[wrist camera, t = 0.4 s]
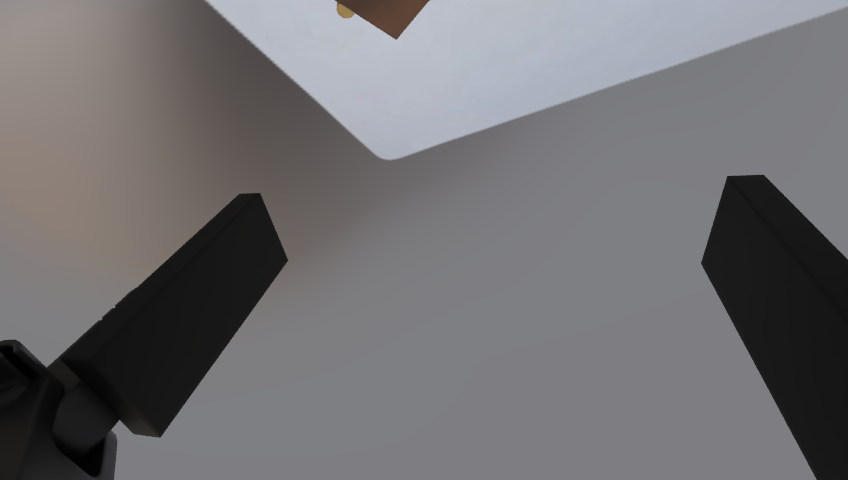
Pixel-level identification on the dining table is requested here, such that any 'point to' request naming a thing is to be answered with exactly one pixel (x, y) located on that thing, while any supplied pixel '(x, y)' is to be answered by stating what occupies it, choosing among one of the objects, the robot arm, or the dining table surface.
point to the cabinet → (386, 13)
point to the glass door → (344, 11)
